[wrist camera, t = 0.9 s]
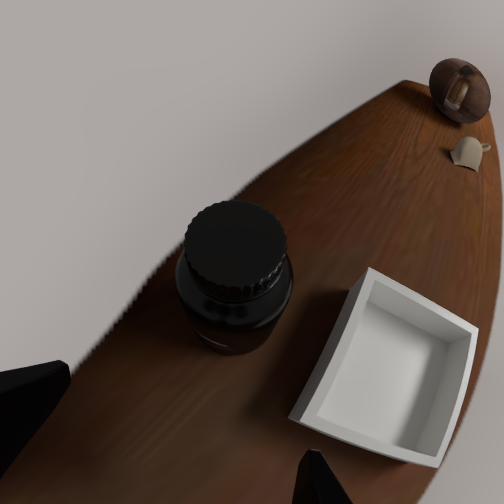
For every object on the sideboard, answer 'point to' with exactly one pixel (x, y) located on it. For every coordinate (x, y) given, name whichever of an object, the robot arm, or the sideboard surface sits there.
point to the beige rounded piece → (468, 152)
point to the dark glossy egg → (459, 90)
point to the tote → (390, 373)
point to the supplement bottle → (234, 275)
